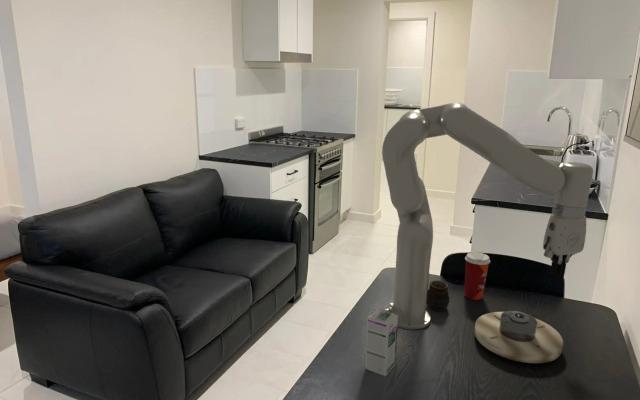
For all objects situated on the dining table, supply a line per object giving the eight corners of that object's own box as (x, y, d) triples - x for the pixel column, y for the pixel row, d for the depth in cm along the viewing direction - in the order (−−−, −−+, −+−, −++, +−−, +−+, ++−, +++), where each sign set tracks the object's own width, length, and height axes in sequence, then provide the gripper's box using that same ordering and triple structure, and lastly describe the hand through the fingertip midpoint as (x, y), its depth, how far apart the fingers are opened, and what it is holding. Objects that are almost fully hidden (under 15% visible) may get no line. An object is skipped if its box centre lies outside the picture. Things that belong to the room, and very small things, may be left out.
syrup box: (386, 377, 115) (389, 323, 111) (364, 368, 118) (366, 316, 114) (395, 365, 120) (399, 313, 116) (374, 357, 123) (377, 306, 119)
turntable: (514, 370, 116) (515, 363, 115) (458, 325, 136) (458, 318, 135) (581, 353, 124) (582, 346, 123) (519, 312, 143) (520, 306, 143)
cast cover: (514, 344, 123) (517, 326, 122) (492, 326, 132) (494, 309, 130) (542, 338, 126) (545, 321, 125) (518, 321, 134) (521, 305, 133)
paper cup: (487, 302, 152) (492, 261, 148) (462, 299, 154) (466, 259, 150) (484, 291, 160) (488, 252, 156) (460, 289, 161) (464, 250, 157)
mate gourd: (440, 300, 153) (443, 271, 150) (453, 312, 146) (457, 282, 143) (420, 303, 151) (423, 274, 148) (433, 315, 144) (436, 285, 141)
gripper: (558, 217, 118) (546, 285, 123) (602, 212, 123) (589, 277, 128) (535, 208, 125) (524, 273, 130) (578, 204, 130) (566, 266, 135)
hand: (556, 275), depth 129 cm, fingers closed
